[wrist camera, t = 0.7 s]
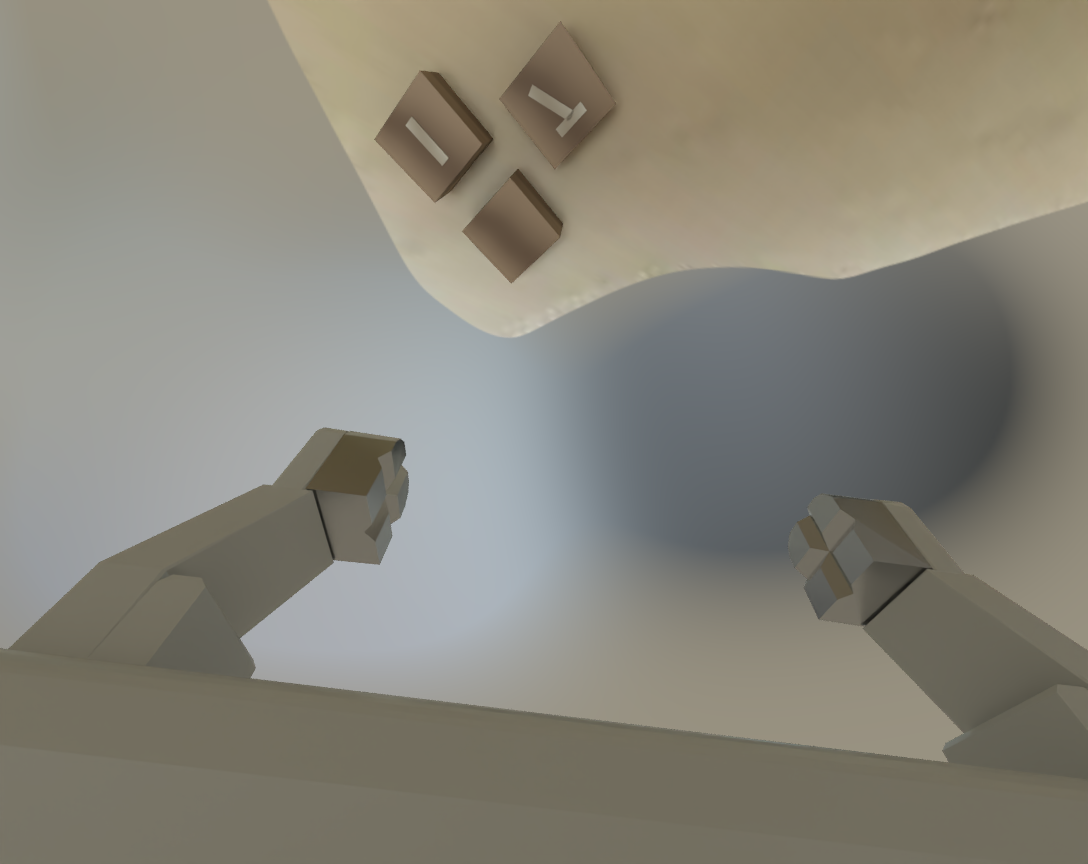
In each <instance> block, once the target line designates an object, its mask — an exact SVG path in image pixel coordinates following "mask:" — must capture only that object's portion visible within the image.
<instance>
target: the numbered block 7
mask: <svg viewBox="0 0 1088 864" xmlns="http://www.w3.org/2000/svg"><path fill="white" fill-rule="evenodd" d="M500 101H501V102H502V103H503V104H504V106H505V107H506V108H507V109H508V111H509V112H510V113H511V114H512V116H513V117H514V118H515V120H516V121H517V122H518V123H519V125H520V126H521V127H522V128H523V130H524V131H525V132H526V133H527V135H528V136H529V137H530V138H531V140H532V141H533V142H534V144H535V145H536V146H537V147H538V149H539V150H540V151H541V152H542V154H543V155H544V156H545V157H546V159H547V160H548V161H549V162H550V164H551V165H552V166H553V168H554V169H556V167H557V166H558V165H559V164H560V163H561V162H562V161H563V160H564V159H565V158H566V157H567V156H568V155H569V154H570V153H571V151H572V150H573V149H574V148H575V147H576V146H577V145H578V144H579V143H580V142H581V141H582V140H583V139H584V138H585V136H586V135H587V134H588V133H589V132H590V131H591V130H592V129H593V128H594V127H595V126H596V125H597V124H598V123H599V122H600V120H601V119H602V118H603V117H604V116H605V115H606V114H607V113H608V112H609V111H610V110H611V109H612V108H613V107H614V105H615V104H616V102H615V101H614V99H613V98H612V96H611V95H610V93H609V92H608V90H607V89H606V88H605V86H604V85H603V83H602V82H601V80H600V79H599V77H598V76H597V74H596V73H595V71H594V70H593V68H592V67H591V65H590V64H589V62H588V61H587V59H586V58H585V56H584V55H583V53H582V52H581V50H580V49H579V48H578V46H577V45H576V43H575V42H574V40H573V39H572V37H571V36H570V34H569V33H568V31H567V30H566V28H565V27H564V25H563V24H562V22H561V21H560V22H559V24H558V25H557V26H556V27H555V29H554V30H553V31H552V32H551V34H550V35H549V36H548V38H547V39H546V40H545V41H544V43H543V44H542V45H541V46H540V48H539V49H538V50H537V52H536V53H535V54H534V55H533V57H532V58H531V59H530V61H529V62H528V63H527V64H526V66H525V67H524V68H523V69H522V71H521V72H520V73H519V75H518V76H517V77H516V78H515V80H514V81H513V82H512V83H511V85H510V86H509V87H508V89H507V90H506V91H505V92H504V94H503V95H502V96H501V98H500Z"/></svg>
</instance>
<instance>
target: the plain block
mask: <svg viewBox="0 0 1088 864" xmlns="http://www.w3.org/2000/svg"><path fill="white" fill-rule="evenodd" d="M562 225H563V223H562V222H561V221H560V219H559V218H558V217H557V216H556V215H555V213H554V212H553V211H552V210H551V208H550V207H549V206H548V205H547V204H546V202H545V201H544V200H543V199H542V197H541V196H540V195H539V194H538V193H537V191H536V190H535V189H534V188H533V186H532V185H531V184H530V183H529V182H528V180H527V179H526V178H525V177H524V176H523V174H522V173H521V172H520V171H519V169H517V171H516V172H515V173H514V174H513V175H512V176H511V177H510V178H509V179H508V181H507V182H506V183H505V184H504V185H503V186H502V187H501V188H500V190H499V191H498V192H497V193H496V194H495V195H494V196H493V197H492V198H491V200H490V201H489V202H488V203H487V204H486V205H485V206H484V207H483V208H482V210H481V211H480V212H479V213H478V214H477V215H476V216H475V217H474V219H473V220H472V221H471V222H470V223H469V224H468V225H467V226H466V227H465V229H464V230H463V231H462V232H463V233H464V234H465V235H466V236H467V237H468V238H469V239H470V240H471V241H472V243H473V244H474V245H475V246H476V247H477V248H478V249H479V250H480V251H481V252H482V253H483V254H484V255H485V256H486V257H487V258H488V259H489V260H490V262H491V263H492V264H493V265H494V266H495V267H496V268H497V269H498V270H499V271H500V272H501V273H502V274H503V275H504V276H505V277H506V278H507V279H508V281H509V282H510V283H512V282H513V281H515V280H516V279H517V278H518V277H519V276H520V275H521V274H522V273H523V272H524V271H525V270H526V269H527V268H528V267H529V266H530V265H531V264H532V263H534V262H535V261H536V260H537V259H538V258H539V257H540V256H541V255H542V254H543V253H544V252H545V251H546V250H547V249H548V248H549V247H550V246H551V245H552V244H554V243H555V242H556V241H557V240H558V239H559V238H560V235H561V230H562Z"/></svg>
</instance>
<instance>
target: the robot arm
mask: <svg viewBox="0 0 1088 864" xmlns="http://www.w3.org/2000/svg"><path fill="white" fill-rule="evenodd" d="M405 456H406V450H405V444H404V441H403V440H401V439H399V438H392V437H385V436H380V435H373V434H367V433H360V432H353V431H350V432H349V431H344V430H337V429H331V428H322V429H319V430H317V431H316V432H315V433H314V435H313V436H312V437H311V438H310V440H309V441H308V442H307V443H306V445H305V446H304V447H303V448H302V450H301V451H300V452H299V453H298V454H297V456H296V457H295V458H294V459H293V461H292V462H291V463H290V464H289V466H288V467H287V468H286V469H285V470H284V472H283V473H282V474H281V475H280V477H279V478H278V479H277V480H276V482H275V483H274V484H273V485H262V486H259V487H258V488H255V489H253V490H251V491H249V492H247V493H245V494H243V495H241V496H238V497H236V498H234V499H232V500H230V501H228V502H226V503H224V504H221V505H219V506H217V507H215V508H213V509H211V510H209V511H207V512H205V513H202V514H200V515H198V516H196V517H194V518H192V519H190V520H188V521H186V522H183V523H181V524H179V525H177V526H175V527H173V528H171V529H169V530H167V531H164V532H162V533H160V534H158V535H156V536H154V537H152V538H150V539H148V540H146V541H143V542H141V543H139V544H137V545H135V546H133V547H131V548H128V549H127V550H124V551H122V552H120V553H118V554H116V555H114V556H112V557H109V558H107V559H105V560H103V561H101V562H99V563H98V564H97V565H96V566H95V567H94V568H93V569H92V570H91V571H90V572H89V573H88V574H87V575H85V576H84V577H83V578H82V580H80V581H79V582H78V583H77V584H76V585H75V586H74V587H73V588H72V589H71V590H70V591H69V592H68V593H67V594H65V595H64V596H63V597H62V598H61V599H60V600H59V601H58V602H57V603H56V604H55V605H54V606H53V607H52V608H51V609H50V610H49V611H48V612H47V613H45V614H44V615H43V616H42V617H41V618H40V619H39V620H38V621H37V622H36V623H35V624H34V625H33V626H32V627H31V628H30V629H29V630H28V631H27V632H25V634H23V635H22V636H21V637H20V638H19V639H18V640H17V641H16V642H15V643H14V644H13V645H12V646H11V647H10V648H9V649H2V648H0V864H1088V650H1086V649H1085V648H1083V647H1082V646H1080V645H1079V644H1077V643H1076V642H1074V641H1073V640H1071V639H1070V638H1068V637H1067V636H1065V635H1064V634H1062V633H1060V632H1059V631H1057V630H1056V629H1055V628H1053V627H1052V626H1050V625H1048V624H1047V623H1045V622H1044V621H1042V620H1041V619H1039V618H1038V617H1036V616H1035V615H1033V614H1032V613H1030V612H1028V611H1027V610H1026V609H1024V608H1023V607H1021V606H1020V605H1018V604H1016V603H1015V602H1013V601H1012V600H1010V599H1009V598H1007V597H1006V596H1004V595H1003V594H1001V593H1000V592H998V591H997V590H995V589H994V588H992V587H990V586H989V585H988V584H986V583H985V582H983V581H982V580H980V579H979V578H977V577H976V576H974V575H968V574H965V573H964V572H963V571H962V570H961V569H960V567H959V566H958V565H957V564H956V562H955V561H954V560H953V559H952V558H951V556H950V555H949V554H948V553H947V552H946V551H945V549H944V548H943V547H942V546H941V545H940V543H939V542H938V541H937V539H936V538H935V537H934V536H933V535H932V533H931V532H930V531H929V530H928V529H927V527H926V526H925V525H924V524H923V523H922V521H921V520H920V519H919V518H918V516H917V515H916V514H915V513H914V512H913V510H912V509H911V508H909V507H908V506H906V505H904V504H903V503H901V502H892V501H883V500H870V499H862V498H854V497H846V496H838V495H830V494H820V495H819V496H817V497H815V498H814V499H813V500H812V502H811V503H810V504H809V506H808V511H809V515H810V516H808V517H806V518H804V519H802V520H800V521H798V522H797V523H796V524H795V526H794V528H793V529H792V531H791V532H790V535H789V543H788V549H789V555H790V558H791V561H792V563H793V565H794V568H795V569H796V570H798V571H799V572H800V573H801V574H802V575H803V576H804V577H805V578H806V579H807V580H806V584H805V586H804V589H805V591H806V593H807V596H808V598H809V600H810V602H811V604H812V606H813V608H814V610H815V613H816V615H817V617H818V619H819V620H825V621H831V622H838V623H844V624H851V625H857V626H864V628H863V629H864V630H865V631H866V632H867V633H868V635H869V636H870V637H871V638H872V639H873V640H874V641H875V642H876V643H877V644H878V645H879V646H880V647H881V648H882V649H883V650H884V651H885V652H886V653H887V654H888V655H889V656H890V657H891V658H892V659H893V660H894V661H895V662H896V663H897V664H898V665H899V666H900V668H901V669H902V670H903V671H904V672H905V673H906V674H907V675H908V676H909V677H910V678H911V679H912V680H913V681H914V682H915V683H916V684H917V685H918V686H919V687H920V688H921V689H922V690H923V691H924V692H925V693H926V695H927V696H928V697H929V698H930V699H931V700H932V701H933V702H934V703H935V704H936V705H937V706H938V707H939V708H940V709H941V710H942V711H943V712H944V713H945V714H946V715H947V716H948V717H949V718H950V719H951V720H952V721H953V722H954V724H956V725H957V727H958V728H959V729H960V730H961V731H962V732H963V733H964V734H962V735H960V736H958V737H956V738H954V739H953V740H951V741H949V742H947V743H945V746H944V748H943V750H942V751H943V753H944V755H945V756H946V758H947V760H948V762H949V763H948V762H940V761H931V760H923V759H914V758H907V757H898V756H890V755H881V754H874V753H864V752H857V751H848V750H841V749H832V748H824V747H816V746H807V745H799V744H791V743H782V742H774V741H766V740H758V739H750V738H741V737H733V736H725V735H716V734H708V733H700V732H691V731H683V730H675V729H667V728H659V727H650V726H642V725H634V724H625V723H617V722H609V721H601V720H592V719H584V718H576V717H567V716H559V715H551V714H542V713H534V712H526V711H517V710H509V709H501V708H493V707H485V706H476V705H468V704H459V703H451V702H443V701H434V700H426V699H417V698H410V697H401V696H392V695H385V694H377V693H368V692H360V691H351V690H342V689H335V688H327V687H318V686H310V685H301V684H293V683H284V682H277V681H268V680H260V679H252V678H251V676H252V674H253V672H254V670H255V664H254V661H253V659H252V657H251V655H250V654H249V652H248V651H247V649H246V647H245V646H244V644H243V643H242V641H241V640H240V638H241V637H242V636H243V635H244V634H246V633H247V632H248V631H250V630H251V629H252V628H253V627H254V626H256V625H257V624H258V623H259V622H261V621H262V620H263V619H264V618H266V617H267V616H268V615H269V614H271V613H272V612H273V611H274V610H276V609H277V608H278V607H279V606H280V605H282V604H283V603H284V602H286V601H287V600H288V599H289V598H290V597H292V596H293V595H294V594H295V593H297V592H298V591H299V590H300V589H301V588H303V587H304V586H305V585H307V584H308V583H309V582H310V581H312V580H313V579H314V578H315V577H317V576H318V575H319V574H320V573H321V572H323V571H324V570H325V569H326V568H327V567H329V566H330V565H331V564H333V560H338V561H348V562H358V563H369V564H380V563H381V560H382V558H383V556H384V554H385V551H386V549H387V547H388V545H389V542H390V540H391V538H392V531H391V524H392V523H393V522H395V521H396V520H398V519H399V518H400V517H401V515H402V512H403V510H404V507H405V504H406V499H407V495H408V486H409V478H408V472H407V470H406V469H405V468H404V467H403V466H402V463H403V461H404V459H405Z"/></svg>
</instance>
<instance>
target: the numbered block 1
mask: <svg viewBox="0 0 1088 864" xmlns="http://www.w3.org/2000/svg"><path fill="white" fill-rule="evenodd" d="M492 139H493V138H492V137H491V136H490V134H489V133H488V132H487V131H486V129H485V128H484V127H483V126H482V125H481V123H480V122H479V121H478V120H477V119H476V117H475V116H474V115H473V114H472V113H471V111H470V110H469V109H468V108H467V107H466V105H465V104H464V103H463V102H462V101H461V99H460V98H459V97H458V96H457V95H456V93H455V92H454V91H453V90H452V89H451V87H450V86H449V85H448V84H447V83H446V81H445V80H444V79H443V78H442V76H441V75H440V74H439V73H436V72H428V71H419V73H418V74H417V76H416V77H415V79H414V80H413V82H412V83H411V85H410V86H409V88H408V89H407V91H406V92H405V94H404V95H403V97H402V98H401V100H400V101H399V103H398V104H397V106H396V107H395V109H394V110H393V112H392V113H391V115H390V117H389V118H388V120H387V121H386V123H385V124H384V126H383V127H382V129H381V130H380V132H379V133H378V135H377V136H376V138H375V139H374V140H375V141H376V142H377V143H378V144H379V145H380V146H381V147H382V148H383V149H384V150H385V151H386V152H387V153H388V154H389V155H390V156H391V157H392V158H393V160H394V161H395V162H396V163H397V164H398V165H399V166H400V167H401V168H402V169H403V170H404V171H405V172H406V173H407V174H408V175H409V176H410V177H411V178H412V179H413V180H414V181H415V182H416V184H417V185H418V186H419V187H420V188H421V189H422V190H423V191H424V192H425V193H426V194H427V195H428V196H429V197H430V198H431V199H432V200H433V201H434V202H437V201H438V200H439V199H441V198H442V197H443V196H445V195H446V194H448V193H449V192H450V191H451V190H452V188H453V187H454V186H455V185H456V184H457V182H458V181H459V180H460V179H461V177H462V176H463V175H464V174H465V173H466V171H467V170H468V169H469V168H470V166H471V165H472V164H473V163H474V162H475V160H476V159H477V158H478V157H479V155H480V154H481V153H482V152H483V151H484V149H485V148H486V147H487V146H488V144H489V143H490V142H491V141H492Z"/></svg>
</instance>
